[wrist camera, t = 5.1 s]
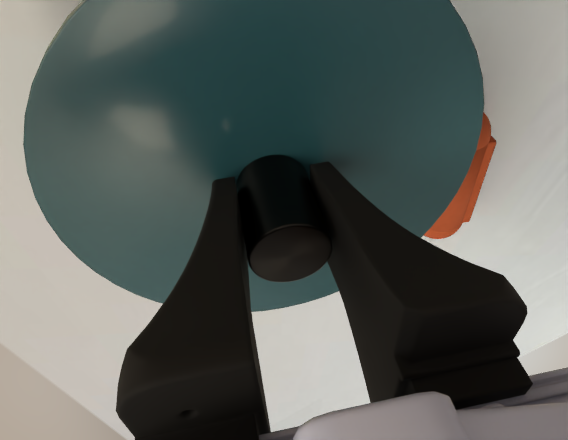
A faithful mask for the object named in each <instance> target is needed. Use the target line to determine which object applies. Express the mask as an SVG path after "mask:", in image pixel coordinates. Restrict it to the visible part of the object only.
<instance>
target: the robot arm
mask: <svg viewBox="0 0 568 440" xmlns="http://www.w3.org/2000/svg"><path fill="white" fill-rule="evenodd" d="M310 183H311V186H312V189H313V191H314V194H315V197H316V199H317V202H318V205H319V208H320V210H321V213H322V216H323V219H324V221H325V224H326V227H327V229H328V232H329V235H330V238H331V241H332V252H331V255H330V257H329V259H328V261H327V262H328V265H329V267H330V270H331V272H332V274H333V277H334V279H335V282H336V284H337V287H338V289H339V291H340V294H341V297H342V300H343V302H344V306H345V309H346V313H347V316H348V319H349V323H350V326H351V330H352V333H353V337H354V341H355V344H356V348H357V351H358V355H359V359H360V363H361V367H362V370H363V374H364V378H365V382H366V386H367V390H368V394H369V398H370V402H371V403H369V404H365V405H360V406H355V407H351V408H346V409H342V410H337V411H332V412H329V413H326V414H323V415H320V416H317V417H314V418H312V419H310V420H309V421H307V422H305V423H304V424H302V425H301V426H298V427H294V428H289V429H285V430H280V431H275V432H271V431H270V425H269V419H268V413H267V407H266V401H265V395H264V389H263V383H262V377H261V371H260V365H259V359H258V352H257V346H256V340H255V334H254V328H253V322H252V313H251V301H250V286H249V271H248V258H247V252H246V246H245V241H244V235H243V229H242V219H241V212H240V206H239V200H238V194H237V188H236V183H235V177H228V178H222V179H216V180H214V181H213V183H212V191H211V197H210V202H209V206H208V210H207V213H206V217H205V220H204V223H203V226H202V229H201V232H200V235H199V237H198V240H197V242H196V245H195V247H194V250H193V252H192V254H191V256H190V259H189V261H188V263H187V265H186V267H185V269H184V271H183V272H182V274H181V276H180V278H179V279H178V281H177V283H176V285H175V286H174V288H173V290H172V291H171V293H170V294H169V296H168V298H167V299H166V300H165V302H164V303H163V305H162V306H161V307H160V309H159V310H158V312H157V313H156V315H155V316H154V317H153V319H152V320H151V321H150V323H149V324H148V325H147V326H146V328H145V329H144V330H143V331H142V332H141V334H140V335H139V336H138V337H137V338H136V339H135V341H134V342H133V343H132V344H131V345H130V346H129V348H128V349H127V351H126V354H125V358H124V361H123V364H122V369H121V373H120V377H119V382H118V392H117V405H116V412H117V414H118V416H119V418H120V419H121V420H122V422H123V423H124V424H125V425H126V427H127V428H128V429H129V430H130V432H131V433H132V434H133V435H134V437H135V440H568V368H563V369H559V370H554V371H549V372H545V373H540V374H536V375H532V376H528V374H527V373H526V371H525V370H524V368H523V367H522V365H521V363H520V362H519V360H518V358H517V357H518V356H519V355H520V351H519V349H518V348H517V346H516V344H515V343H514V341H513V339H514V337H515V336H516V334H517V332H518V331H519V329H520V328H521V326H522V324H523V323H524V320H525V318H526V315H527V306H526V305H525V303H524V302H523V300H522V299H521V297H520V296H519V294H518V293H517V292H516V290H515V289H514V287H513V286H512V285H511V284H510V283H509V282H508V280H507V279H506V278H505V277H504V276H503V275H501V274H499V273H496V272H493V271H491V270H488V269H485V268H483V267H480V266H477V265H475V264H472V263H470V262H467V261H465V260H463V259H461V258H458V257H456V256H454V255H452V254H450V253H448V252H446V251H444V250H442V249H440V248H438V247H436V246H434V245H432V244H430V243H429V242H427V241H425V240H423V239H421V238H420V237H418V236H416V235H415V234H413V233H411V232H410V231H408V230H407V229H405V228H404V227H402V226H401V225H399V224H398V223H396V222H395V221H394V220H392V219H391V218H390V217H388V216H387V215H386V214H385V213H383V212H382V211H381V210H380V209H378V208H377V207H376V206H375V205H374V204H372V203H371V202H370V201H369V200H368V199H367V198H366V197H365V196H363V195H362V194H361V193H360V192H359V191H358V190H357V189H356V188H355V187H354V186H353V185H352V184H351V183H350V182H349V181H348V180H347V179H346V178H345V177H344V176H343V175H342V174H341V173H340V172H339V171H338V170H337V169H336V168H335V167H334V166H333V165H332V164H331V163H330V162H329V161H328V162H322V163H315V164H310Z"/></svg>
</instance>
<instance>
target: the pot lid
mask: <svg viewBox="0 0 568 440" xmlns="http://www.w3.org/2000/svg"><path fill="white" fill-rule="evenodd" d="M483 109H484V93H483V77H482V73H481V69H480V64H479V60H478V55H477V51H476V49H475V46H474V44H473V42H472V39H471V37H470V34H469V32H468V30H467V27H466V25H465V24H464V22H463V20H462V19H461V17H460V16H459V14H458V13H457V11H456V10H455V8H454V7H453V5H452V3H451V2H450V1H449V0H83V1H82V2H81V3H80V4H79V5H78V6H77V7H76V8H75V9H74V10H73V11H72V13H71V14H70V15H69V16H68V17H67V19H66V20H65V22H64V23H63V25H62V26H61V28H60V29H59V31H58V32H57V34H56V35H55V37H54V38H53V40H52V41H51V43H50V45H49V46H48V48H47V50H46V52H45V55H44V57H43V59H42V62H41V64H40V66H39V69H38V71H37V73H36V76H35V78H34V80H33V83H32V86H31V90H30V94H29V99H28V103H27V107H26V112H25V120H24V143H23V145H24V152H25V160H26V167H27V173H28V176H29V180H30V183H31V186H32V189H33V192H34V195H35V198H36V200H37V202H38V204H39V206H40V208H41V210H42V212H43V214H44V216H45V218H46V220H47V221H48V223H49V224H50V226H51V227H52V228H53V230H54V231H55V233H56V234H57V235H58V237H59V238H60V240H61V241H62V242H63V243H64V244H65V245H66V246H67V247H68V248H69V249H70V250H71V251H72V252H73V253H74V254H75V255H76V256H77V258H79V259H80V260H81V261H82V262H84V263H85V264H86V265H87V266H89V267H90V268H91V269H92V270H94V271H95V272H96V273H98V274H99V275H101V276H103V277H104V278H106V279H107V280H109V281H111V282H112V283H114V284H115V285H118V286H120V287H122V288H124V289H126V290H128V291H130V292H132V293H134V294H136V295H139V296H142V297H145V298H147V299H150V300H153V301H156V302H159V303H164V302H165V300H166V299H167V298H168V296H169V294H170V293H171V291H172V290H173V288H174V286H175V285H176V283H177V281H178V279H179V278H180V276H181V274H182V272H183V271H184V269H185V267H186V265H187V263H188V261H189V259H190V256H191V254H192V252H193V250H194V247H195V245H196V242H197V240H198V237H199V235H200V232H201V229H202V226H203V223H204V220H205V217H206V213H207V210H208V206H209V202H210V197H211V191H212V183H213V181H214V180H216V179H222V178H228V177H235V183H236V188H237V194H238V200H239V206H240V212H241V219H242V229H243V235H244V241H245V246H246V252H247V258H248V271H249V286H250V301H251V312H255V311H266V310H272V309H279V308H285V307H289V306H293V305H298V304H302V303H306V302H309V301H312V300H315V299H319V298H322V297H325V296H327V295H330V294H333V293H335V292H338V291H339V289H338V287H337V284H336V282H335V279H334V277H333V274H332V272H331V270H330V267H329V265H328V262H327V261H328V259H329V257H330V255H331V252H332V241H331V238H330V235H329V232H328V229H327V227H326V224H325V221H324V219H323V216H322V213H321V210H320V208H319V205H318V202H317V199H316V197H315V194H314V191H313V189H312V186H311V183H310V164H315V163H322V162H328V161H329V162H330V163H331V164H332V165H333V166H334V167H335V168H336V169H337V170H338V171H339V172H340V173H341V174H342V175H343V176H344V177H345V178H346V179H347V180H348V181H349V182H350V183H351V184H352V185H353V186H354V187H355V188H356V189H357V190H358V191H359V192H360V193H361V194H362V195H363V196H365V197H366V198H367V199H368V200H369V201H370V202H371V203H372V204H374V205H375V206H376V207H377V208H378V209H380V210H381V211H382V212H383V213H385V214H386V215H387V216H388V217H390V218H391V219H392V220H394V221H395V222H396V223H398V224H399V225H401V226H402V227H404V228H405V229H407V230H408V231H410V232H411V233H413V234H415V235H416V236H418V237H420V238H421V237H422V236H423V235H424V234H425V233H426V232H427V231H428V230H429V229H430V228H431V227H432V226H433V225H434V223H435V222H436V221H437V220H438V219H439V217H440V216H441V215H442V214H443V213H444V211H445V210H446V209H447V207H448V206H449V204H450V203H451V201H452V200H453V198H454V197H455V195H456V194H457V192H458V190H459V188H460V186H461V185H462V183H463V181H464V179H465V177H466V175H467V173H468V171H469V168H470V166H471V163H472V160H473V158H474V155H475V153H476V150H477V145H478V141H479V137H480V133H481V129H482V120H483Z"/></svg>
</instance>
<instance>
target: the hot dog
mask: <svg viewBox="0 0 568 440" xmlns="http://www.w3.org/2000/svg"><path fill="white" fill-rule="evenodd" d="M495 145H496V140H495V139H494V138H493V137H492V136H491V125H490V122H489V119H488V117H487V116H486V114H485V113H484V112H483V120H482V129H481V133H480V137H479V141H478V145H477V150H476V153H475V155H474V158H473V160H472V163H471V166H470V168H469V171H468V173H467V175H466V177H465V179H464V181H463V183H462V185H461V186H460V188H459V190H458V192H457V194H456V195H455V197H454V198H453V200H452V201H451V203H450V204H449V206H448V207H447V209H446V210H445V211H444V213H443V214H442V215H441V216H440V217H439V219H438V220H437V221H436V222H435V223H434V225H433V226H432V227H431V228H430V229H429V230H428V231H427V232H426V233H425V234H424V236H426V237H429V238H434V239H441V238H446V237H449V236H451V235H452V234H454V233H455V232H456V231H457V230H458V229H459V228H460V227H461V225H462V223H463V222H469V221H470V218H471V215H472V212H473V209H474V206H475V204H476V201H477V198H478V195H479V192H480V189H481V186H482V183H483V180H484V177H485V174H486V171H487V169H488V166H489V163H490V160H491V157H492V154H493V151H494V148H495Z"/></svg>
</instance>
